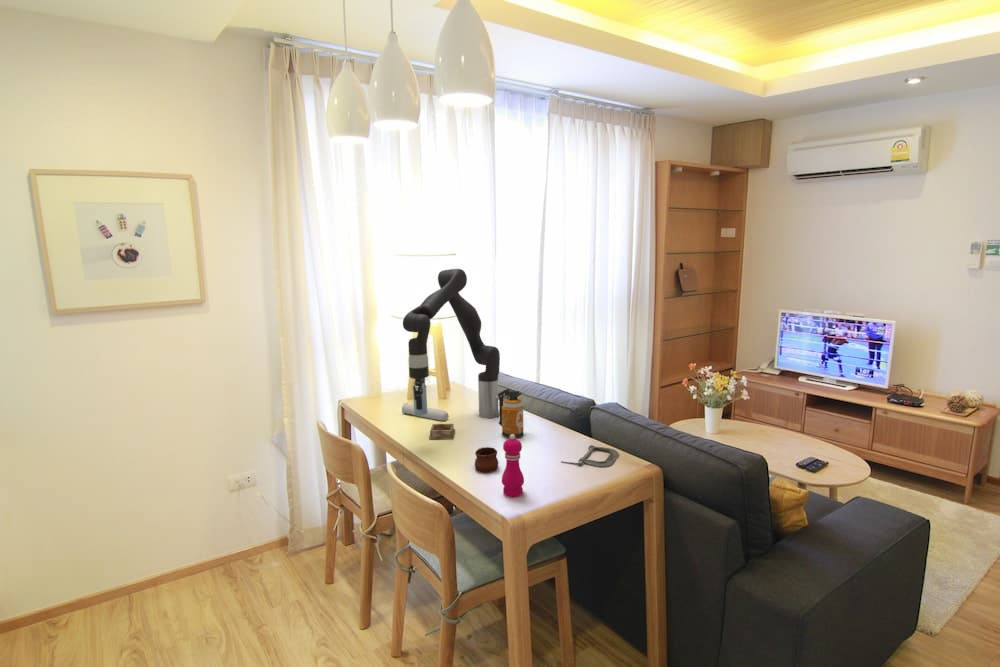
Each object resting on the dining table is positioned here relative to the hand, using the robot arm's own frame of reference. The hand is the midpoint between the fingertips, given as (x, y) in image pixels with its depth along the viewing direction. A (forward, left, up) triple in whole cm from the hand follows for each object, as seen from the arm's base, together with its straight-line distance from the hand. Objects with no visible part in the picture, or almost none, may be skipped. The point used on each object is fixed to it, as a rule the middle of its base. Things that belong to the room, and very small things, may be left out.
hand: (420, 406), depth 216 cm
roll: (0, 0, -3) cm, 3 cm away
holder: (-6, -14, -17) cm, 23 cm away
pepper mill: (-35, +41, -17) cm, 57 cm away
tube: (+4, -40, -17) cm, 44 cm away
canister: (-35, -13, -17) cm, 42 cm away
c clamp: (-66, +12, -18) cm, 70 cm away
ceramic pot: (-26, +21, -18) cm, 38 cm away
